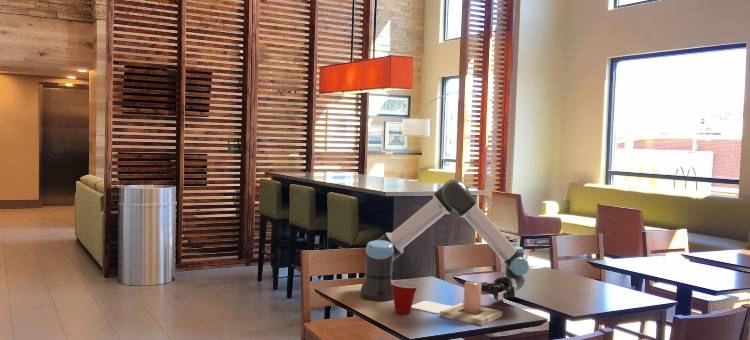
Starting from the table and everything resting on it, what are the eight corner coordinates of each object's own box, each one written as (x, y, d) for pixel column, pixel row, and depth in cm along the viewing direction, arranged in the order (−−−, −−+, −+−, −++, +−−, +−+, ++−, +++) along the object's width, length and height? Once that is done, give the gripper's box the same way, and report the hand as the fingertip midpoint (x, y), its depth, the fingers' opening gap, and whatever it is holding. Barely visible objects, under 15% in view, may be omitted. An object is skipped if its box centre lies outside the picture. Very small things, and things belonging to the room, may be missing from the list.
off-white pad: (407, 307, 260) (407, 306, 260) (425, 301, 272) (425, 300, 271) (437, 314, 252) (437, 313, 252) (454, 307, 263) (454, 306, 263)
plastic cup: (414, 317, 245) (416, 286, 245) (387, 314, 248) (388, 284, 247) (418, 310, 256) (420, 280, 255) (392, 308, 258) (393, 278, 258)
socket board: (439, 316, 249) (440, 311, 249) (461, 307, 264) (461, 302, 264) (482, 325, 239) (482, 320, 239) (502, 316, 254) (502, 311, 254)
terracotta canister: (459, 316, 251) (461, 283, 250) (467, 313, 256) (469, 280, 255) (475, 319, 247) (476, 285, 246) (482, 316, 252) (484, 283, 252)
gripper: (531, 299, 269) (511, 308, 251) (477, 289, 283) (454, 297, 266) (532, 281, 269) (512, 289, 251) (478, 272, 283) (455, 279, 265)
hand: (483, 293), depth 258 cm, fingers open, 13 cm apart
